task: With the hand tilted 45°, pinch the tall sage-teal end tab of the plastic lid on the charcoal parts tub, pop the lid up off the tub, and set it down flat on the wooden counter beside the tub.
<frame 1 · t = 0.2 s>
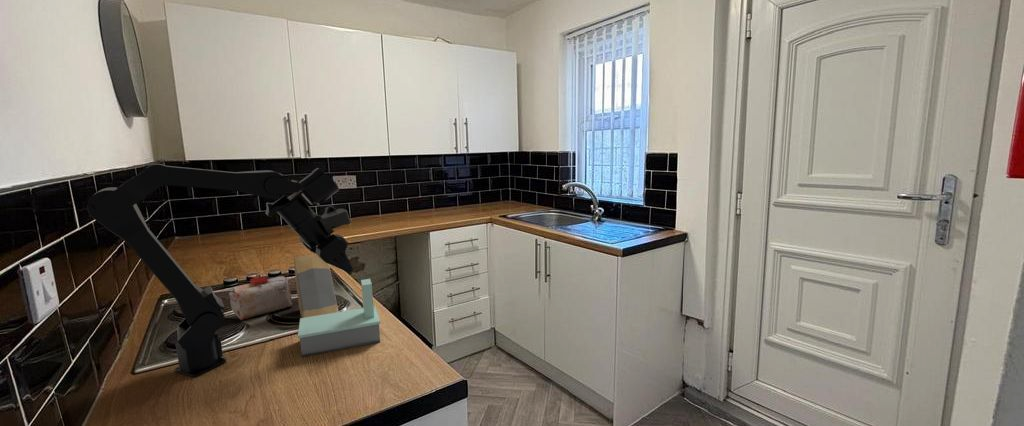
hand: (345, 267, 103), 15 cm above the counter, tool tilted 35°, fingers open, 9 cm apart
food item: (263, 312, 115), on the counter
sandwich container: (319, 317, 111), on the counter
parts tub: (341, 340, 97), on the counter
lid: (340, 326, 97), point 3 cm above the counter, touching parts tub
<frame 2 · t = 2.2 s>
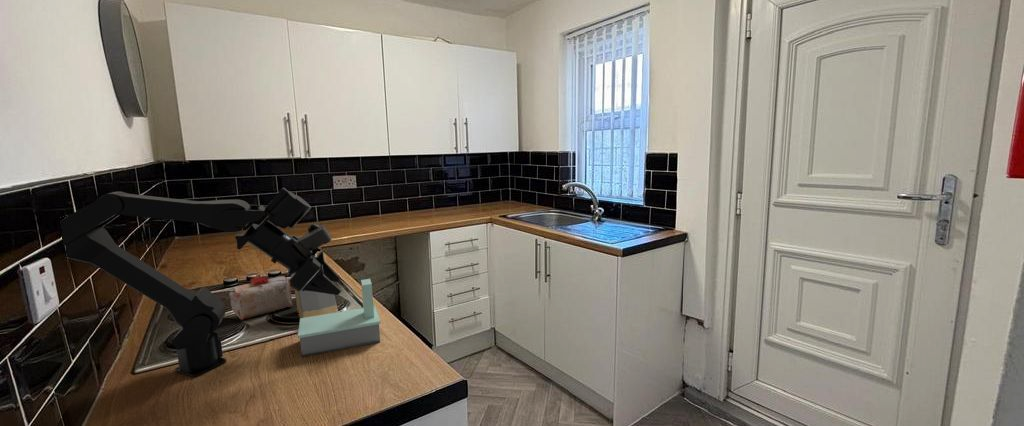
hand: (338, 286, 95), 13 cm above the counter, tool tilted 45°, fingers open, 9 cm apart
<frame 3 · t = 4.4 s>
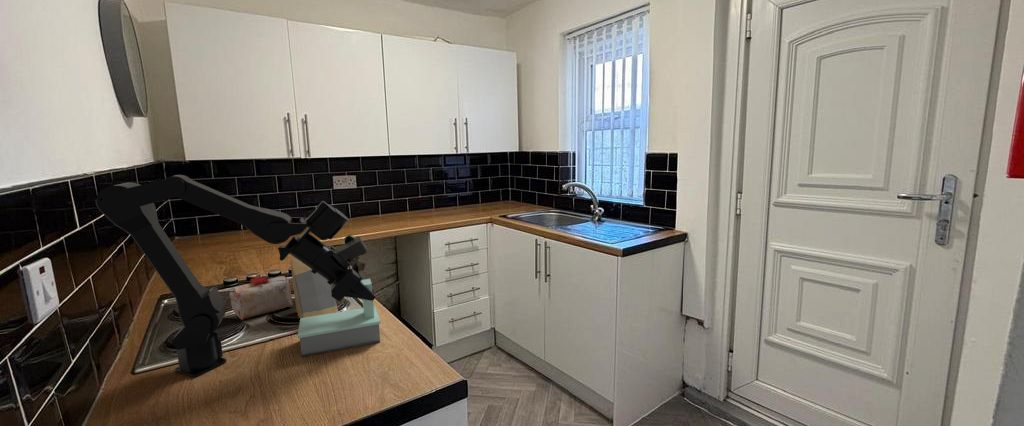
hand: (373, 295, 98), 10 cm above the counter, tool tilted 45°, fingers closed on lid, 4 cm apart
lid: (340, 326, 97), point 3 cm above the counter, touching gripper, parts tub
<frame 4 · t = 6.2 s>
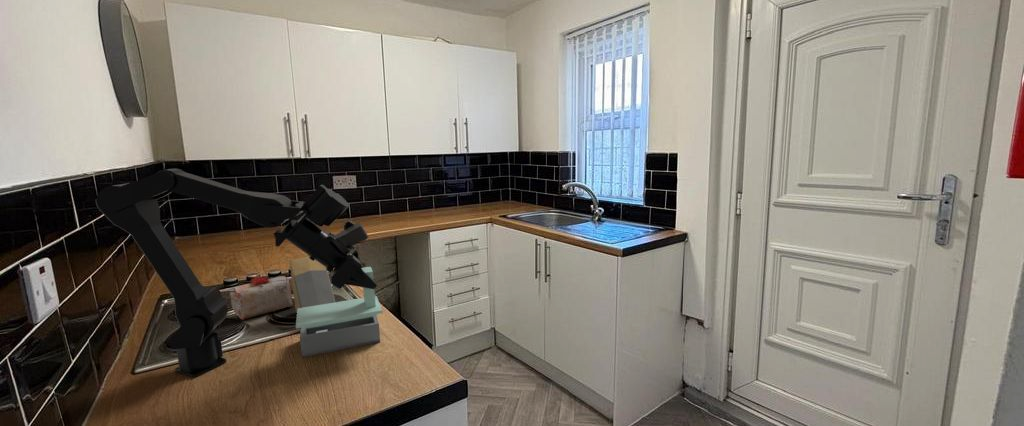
hand: (374, 284, 94), 14 cm above the counter, tool tilted 45°, fingers closed on lid, 4 cm apart
lid: (340, 316, 92), point 8 cm above the counter, touching gripper
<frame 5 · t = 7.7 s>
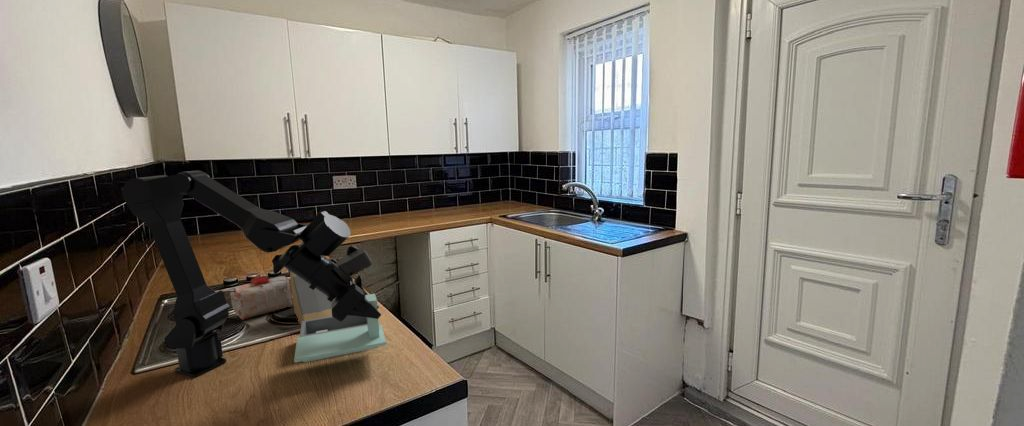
hand: (378, 312, 88), 10 cm above the counter, tool tilted 45°, fingers closed on lid, 4 cm apart
lid: (341, 347, 87), point 4 cm above the counter, touching gripper
when the fingers open (8 cm above the counter, at t = 8.5 s): lid drops 2 cm, on the counter.
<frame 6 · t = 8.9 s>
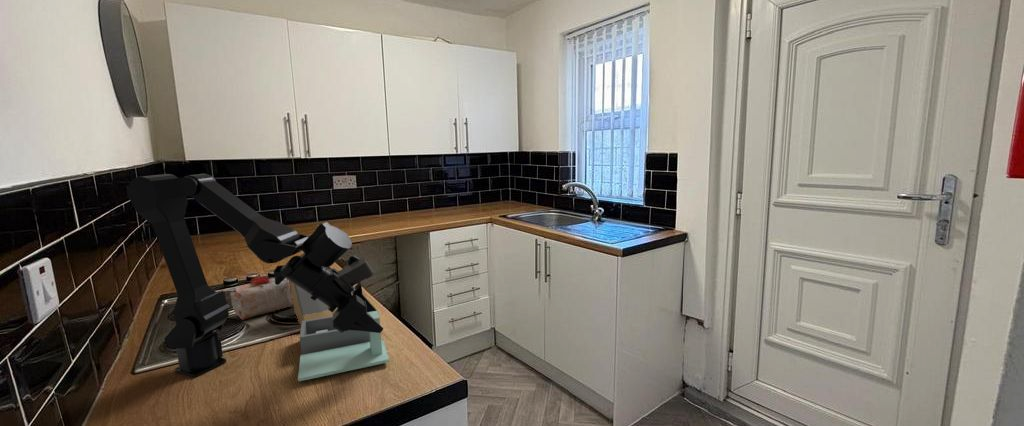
hand: (379, 322, 89), 8 cm above the counter, tool tilted 45°, fingers open, 8 cm apart
lid: (344, 364, 87), on the counter
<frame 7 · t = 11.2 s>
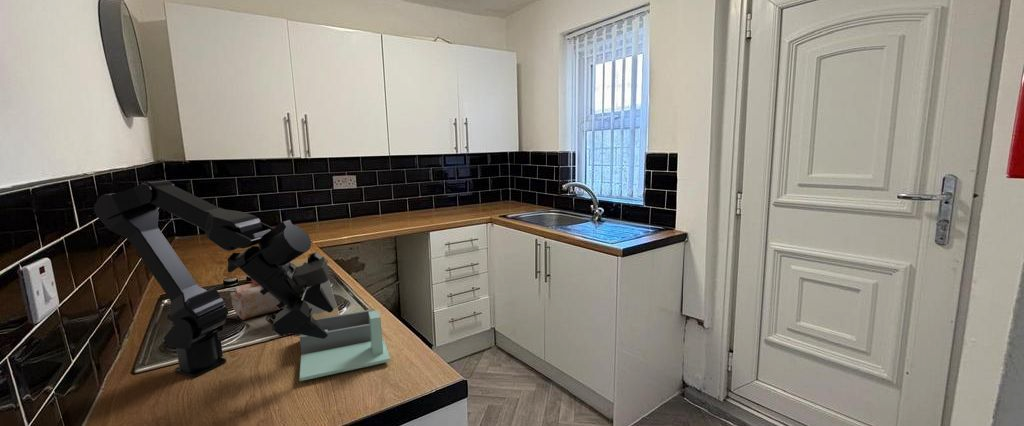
hand: (329, 323, 88), 8 cm above the counter, tool tilted 35°, fingers open, 9 cm apart
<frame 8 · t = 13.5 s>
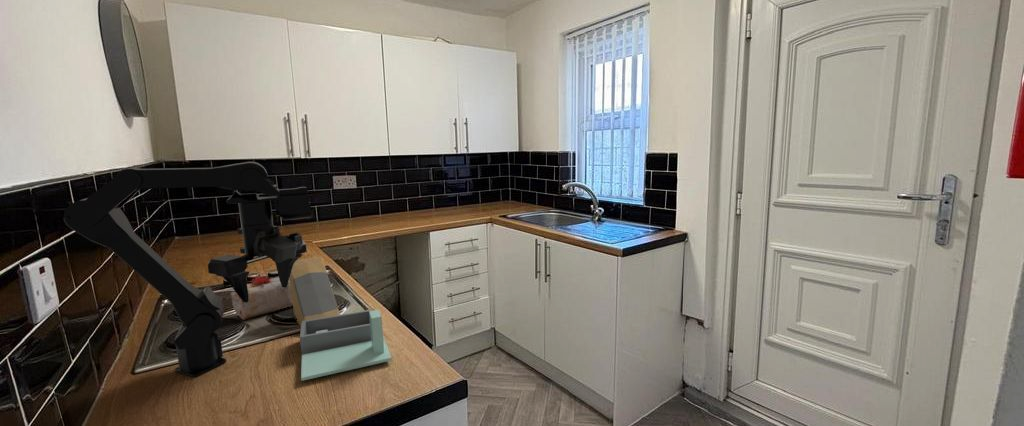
hand: (266, 294, 91), 13 cm above the counter, tool pointing down, fingers open, 9 cm apart
at the end: lid touching counter; lid inside the target area (0.9 cm from its centre), on the counter; lid tilted 0° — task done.
